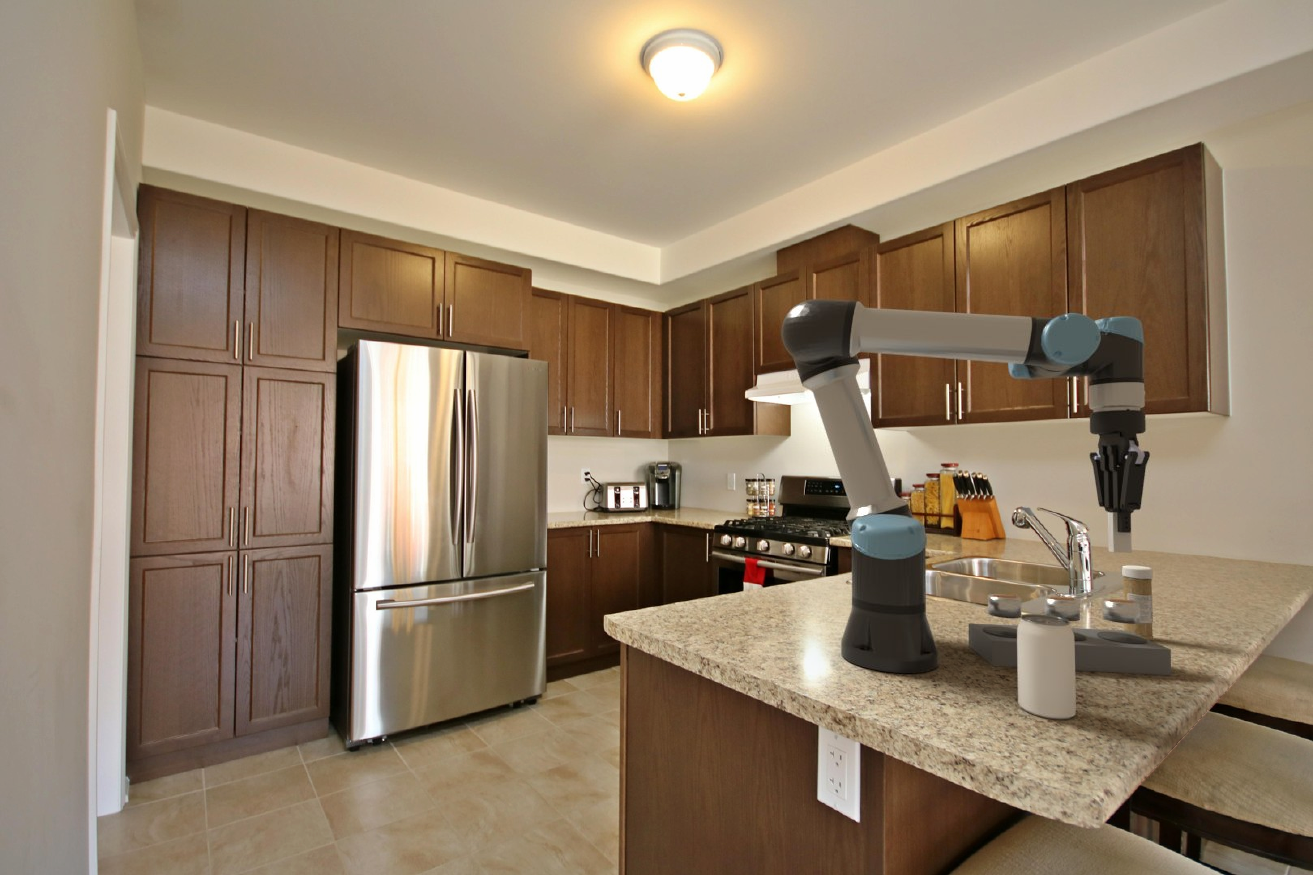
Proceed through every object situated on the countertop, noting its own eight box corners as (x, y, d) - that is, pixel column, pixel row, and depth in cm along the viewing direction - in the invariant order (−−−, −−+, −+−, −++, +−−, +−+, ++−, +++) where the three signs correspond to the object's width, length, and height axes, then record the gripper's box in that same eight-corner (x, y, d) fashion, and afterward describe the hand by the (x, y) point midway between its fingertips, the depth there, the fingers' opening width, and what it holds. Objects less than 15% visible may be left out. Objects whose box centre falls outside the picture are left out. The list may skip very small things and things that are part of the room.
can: (1077, 724, 77) (1075, 627, 78) (1017, 713, 81) (1015, 620, 81) (1074, 707, 83) (1073, 617, 83) (1018, 697, 86) (1017, 610, 87)
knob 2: (1113, 622, 100) (1112, 602, 100) (1096, 615, 105) (1095, 595, 105) (1147, 624, 100) (1146, 603, 100) (1128, 616, 104) (1128, 597, 105)
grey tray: (992, 665, 100) (992, 639, 100) (968, 645, 111) (968, 622, 111) (1171, 675, 96) (1170, 648, 96) (1128, 653, 107) (1128, 629, 107)
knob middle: (1053, 620, 102) (1052, 600, 102) (1039, 613, 107) (1038, 593, 107) (1086, 621, 101) (1085, 601, 101) (1070, 614, 106) (1070, 594, 106)
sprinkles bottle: (1127, 633, 120) (1125, 563, 121) (1156, 638, 117) (1155, 567, 117) (1120, 637, 117) (1118, 566, 118) (1150, 642, 114) (1148, 569, 114)
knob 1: (994, 617, 103) (994, 597, 103) (983, 610, 108) (983, 591, 108) (1026, 619, 102) (1026, 598, 102) (1014, 611, 107) (1013, 592, 107)
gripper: (1167, 406, 97) (1171, 558, 96) (1118, 413, 110) (1121, 547, 109) (1114, 407, 98) (1118, 556, 97) (1072, 413, 111) (1075, 546, 110)
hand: (1120, 551), depth 103 cm, fingers closed
